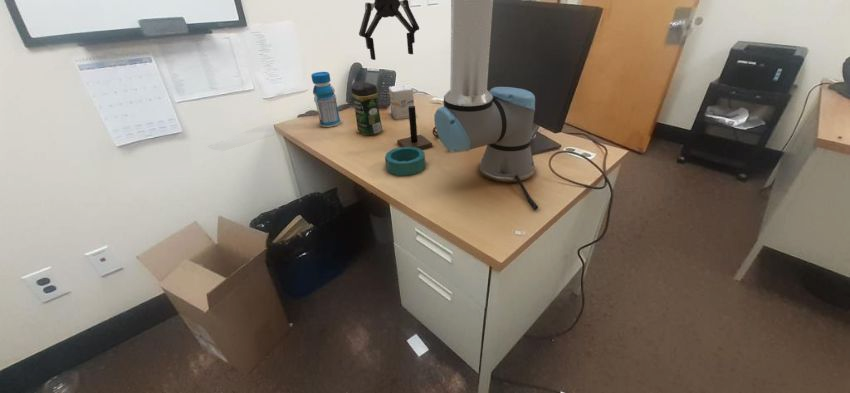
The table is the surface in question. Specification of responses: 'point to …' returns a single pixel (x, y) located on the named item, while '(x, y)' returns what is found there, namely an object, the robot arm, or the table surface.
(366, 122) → the coffee jar
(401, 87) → the ink box
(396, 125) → the table surface
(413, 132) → the peg stand
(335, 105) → the beverage bottle
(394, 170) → the ring
